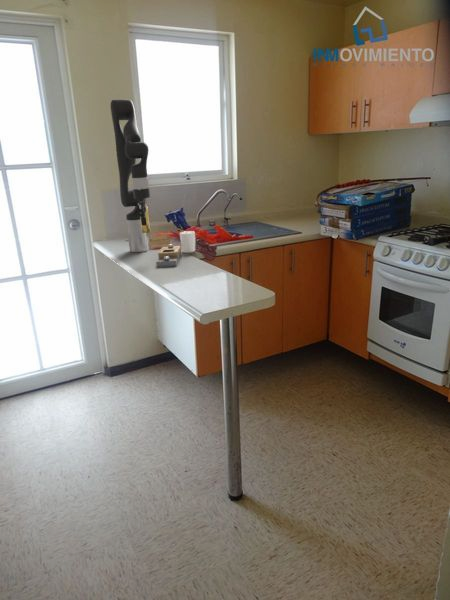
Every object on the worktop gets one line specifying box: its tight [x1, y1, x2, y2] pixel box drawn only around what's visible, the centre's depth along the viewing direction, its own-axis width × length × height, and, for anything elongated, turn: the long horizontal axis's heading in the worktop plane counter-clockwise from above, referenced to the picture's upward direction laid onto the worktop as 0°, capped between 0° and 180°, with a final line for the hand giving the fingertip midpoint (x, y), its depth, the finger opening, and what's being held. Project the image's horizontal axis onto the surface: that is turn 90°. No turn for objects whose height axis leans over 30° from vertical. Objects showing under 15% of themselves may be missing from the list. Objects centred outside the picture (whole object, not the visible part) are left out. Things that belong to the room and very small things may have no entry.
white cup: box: [179, 230, 196, 254], centre depth 225 cm, size 8×8×10 cm
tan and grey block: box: [155, 243, 182, 268], centre depth 207 cm, size 9×22×6 cm, turn 179°
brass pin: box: [140, 206, 151, 234], centre depth 205 cm, size 4×4×12 cm
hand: (145, 224), depth 206 cm, fingers closed on brass pin, 4 cm apart
